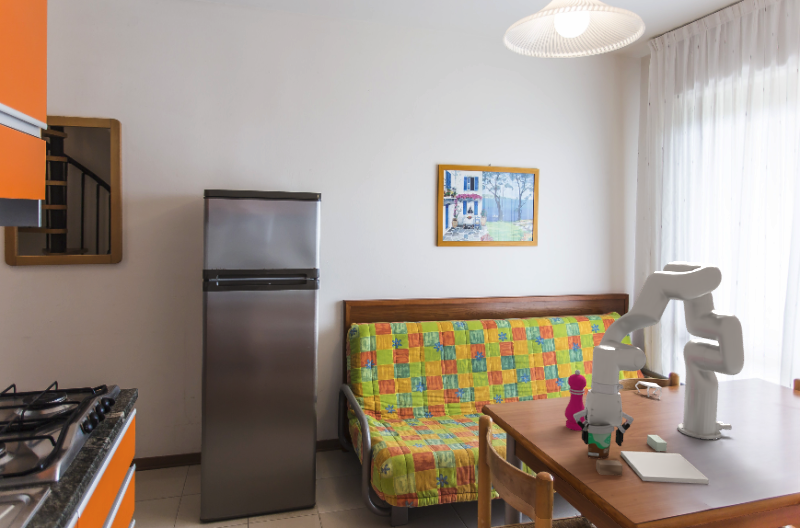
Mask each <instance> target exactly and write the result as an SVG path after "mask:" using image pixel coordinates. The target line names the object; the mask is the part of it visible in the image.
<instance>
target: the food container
mask: <svg viewBox="0 0 800 528" xmlns="http://www.w3.org/2000/svg"><path fill="white" fill-rule="evenodd" d="M614 431H615V427H613V426H611V425H608V426H593V425H592V426H591V425H589V427H588V433H589V434H588V446H587V458H589V457H590V458H591V459H596V460H602V459H606V458H608V457H609V456H610V448H611V443H612V442H611V440H612V433H613V432H614ZM598 458H600V459H598Z"/></svg>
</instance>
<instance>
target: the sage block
mask: <svg viewBox="0 0 800 528" xmlns="http://www.w3.org/2000/svg"><path fill="white" fill-rule="evenodd" d="M646 444H647V445H648V446H650V448H652V449H653V450H654V449H655V451H656V452H660V451H666V452H667V449H668V442H667V441H666V440H664V439H663V438H661V437H660V436H659V435H658V434H647V437H646Z"/></svg>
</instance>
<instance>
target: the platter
mask: <svg viewBox="0 0 800 528" xmlns="http://www.w3.org/2000/svg"><path fill="white" fill-rule="evenodd" d="M620 456H621V457H622V458H623V459H624V460H625V462H626V463H627V464H628V465H629V466H630V468H631V469H632V470H633V471H634V472H635V473H636V474H637V476H638V477H639V478H640V479H641V480H642V481H643V482H660V483H661V482H662V483H663V482H664V483H680V484H681V483H684V484H700V485H701V484H703V485H709V484H710V483H709V482H710V480H709V478H708V477H707V476H705V475H704V473H702V472H701V471H700V470H699V469H698V468H696V467H695V466H694V465H693V464H692V463H691V462H690V461H688V460H687V459H686V458H685V457H684V456H683V455H681V454H680V453H675V452H674V453H673V452H672V453H671V452H651V451H650V452H649V451H648V452H647V451H629V450H628V451H627V450H621V451H620Z"/></svg>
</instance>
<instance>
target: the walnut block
mask: <svg viewBox="0 0 800 528" xmlns="http://www.w3.org/2000/svg"><path fill="white" fill-rule="evenodd" d="M595 461H596V466H595V467H596V468H595V470H596V471H597V473H598V475H601V476H603V475H605V476H621V477H622V476H623V466H624V465H623V464H622V462H620V461H619V460H614V459H613V460H611V459H596V460H595Z"/></svg>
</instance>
